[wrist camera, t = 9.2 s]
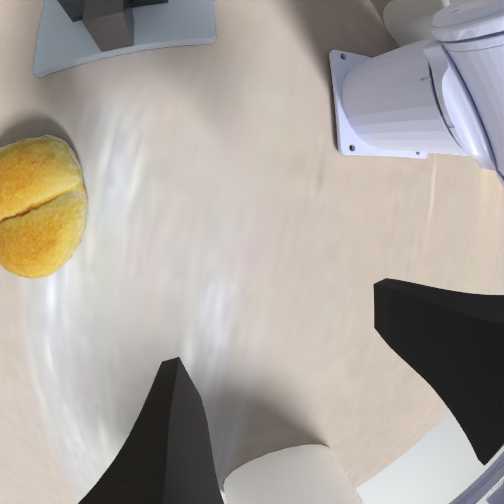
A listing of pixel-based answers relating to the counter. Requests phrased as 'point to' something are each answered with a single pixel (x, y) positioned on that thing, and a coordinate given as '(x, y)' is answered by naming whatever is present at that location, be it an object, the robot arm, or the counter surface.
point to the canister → (292, 479)
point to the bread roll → (40, 205)
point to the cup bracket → (107, 19)
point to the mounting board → (145, 33)
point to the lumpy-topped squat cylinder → (411, 19)
